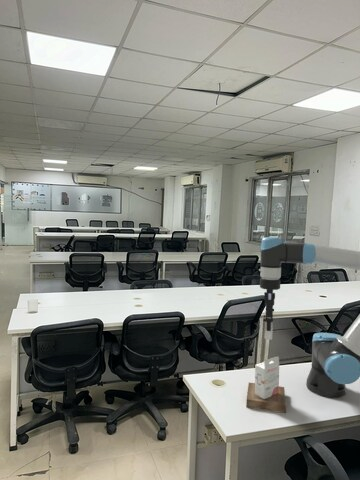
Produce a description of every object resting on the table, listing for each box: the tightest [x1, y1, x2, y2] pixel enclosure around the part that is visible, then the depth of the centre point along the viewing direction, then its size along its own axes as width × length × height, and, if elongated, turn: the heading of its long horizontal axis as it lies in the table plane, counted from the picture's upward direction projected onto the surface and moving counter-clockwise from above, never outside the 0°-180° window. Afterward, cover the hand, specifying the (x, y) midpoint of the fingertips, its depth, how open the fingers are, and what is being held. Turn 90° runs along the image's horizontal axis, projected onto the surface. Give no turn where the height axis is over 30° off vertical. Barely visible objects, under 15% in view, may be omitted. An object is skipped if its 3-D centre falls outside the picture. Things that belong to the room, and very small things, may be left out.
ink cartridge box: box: [254, 355, 280, 399], centre depth 134 cm, size 9×5×15 cm, turn 125°
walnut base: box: [245, 382, 287, 414], centre depth 135 cm, size 14×14×3 cm
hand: (268, 333), depth 134 cm, fingers open, 13 cm apart
